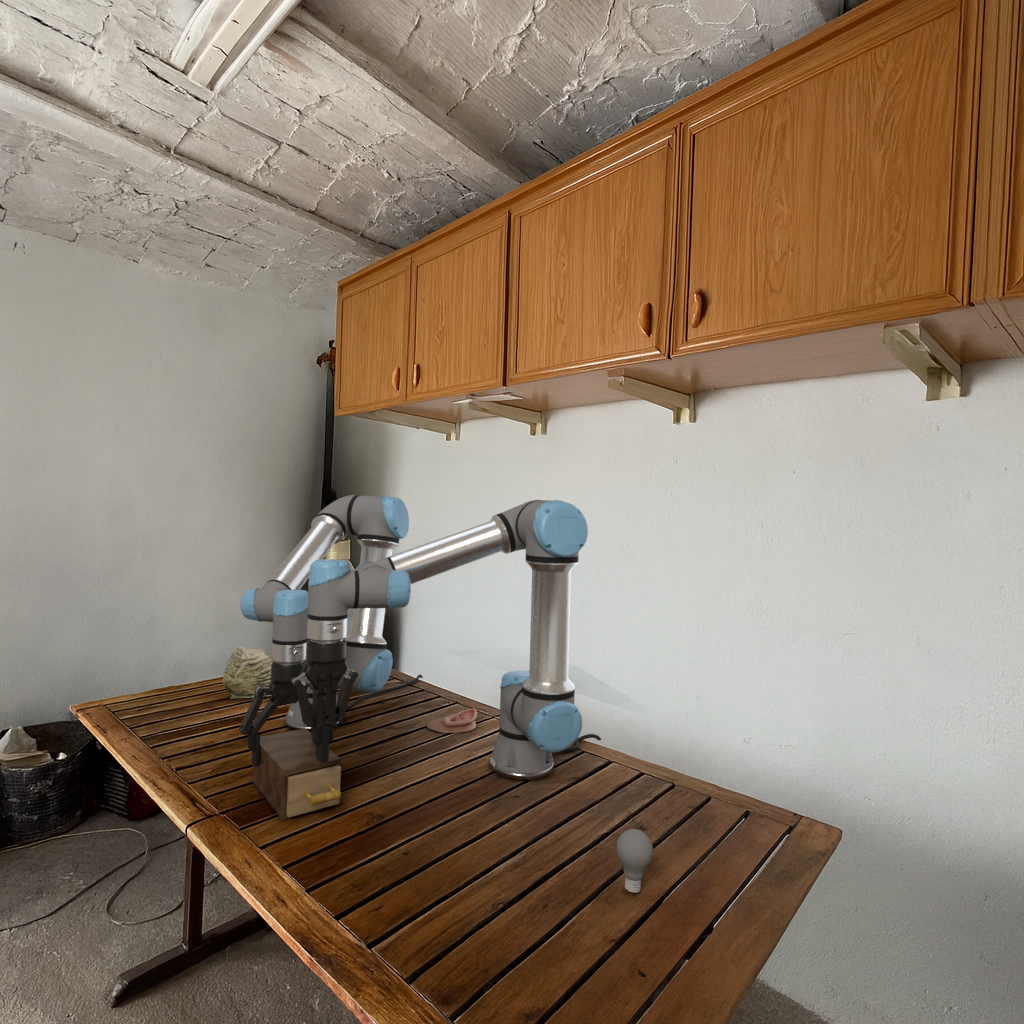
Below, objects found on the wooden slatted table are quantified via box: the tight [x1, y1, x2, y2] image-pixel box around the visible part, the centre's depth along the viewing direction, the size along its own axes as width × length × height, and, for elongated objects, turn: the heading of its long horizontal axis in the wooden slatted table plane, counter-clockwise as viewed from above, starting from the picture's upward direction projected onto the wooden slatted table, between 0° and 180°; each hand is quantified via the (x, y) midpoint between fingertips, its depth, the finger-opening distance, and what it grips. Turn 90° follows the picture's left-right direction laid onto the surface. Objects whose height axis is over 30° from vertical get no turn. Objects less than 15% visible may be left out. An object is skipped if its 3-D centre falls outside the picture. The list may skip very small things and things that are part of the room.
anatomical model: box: [426, 708, 478, 734], centre depth 178 cm, size 13×4×12 cm
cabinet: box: [251, 728, 342, 820], centre depth 135 cm, size 20×12×10 cm, turn 38°
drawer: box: [287, 765, 342, 818], centre depth 131 cm, size 24×10×8 cm, turn 38°
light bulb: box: [615, 828, 654, 894], centre depth 106 cm, size 6×6×10 cm
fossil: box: [222, 646, 274, 699], centre depth 198 cm, size 9×18×15 cm, turn 132°
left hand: (285, 757), depth 140 cm, fingers open, 12 cm apart
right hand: (322, 759), depth 124 cm, fingers closed
